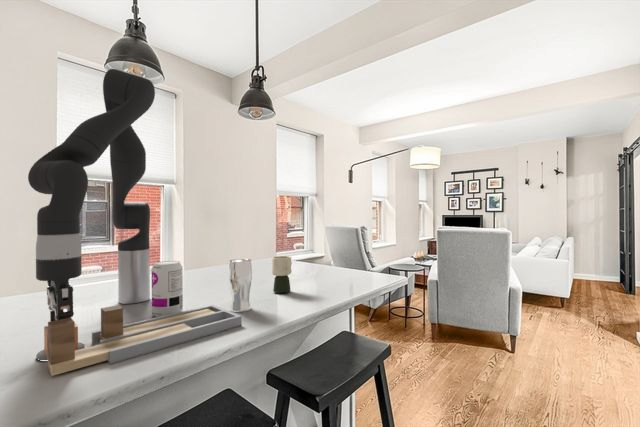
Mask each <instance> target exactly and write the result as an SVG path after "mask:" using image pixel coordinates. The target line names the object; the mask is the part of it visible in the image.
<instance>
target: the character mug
mask: <svg viewBox="0 0 640 427" xmlns="http://www.w3.org/2000/svg"><path fill="white" fill-rule="evenodd" d="M271 261H272V262H271V269H272V270H271V271H272V272H271V274H272V275H273V276H275V277H274V282H273V292H274V293H283V294H285V293H289V292H291V282H290V278H289V275H291V273H292V271H293V270H292V264H293V263H292V262H293V261H292V256H290V255H279V256H278V255H276V256H272V258H271Z"/></svg>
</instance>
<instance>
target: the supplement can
mask: <svg viewBox="0 0 640 427" xmlns="http://www.w3.org/2000/svg"><path fill="white" fill-rule="evenodd" d="M183 280H184V279H183V266H182V263H181V261H179V260H163V261H156V262H154V263H153V266H152V267H151V314H152V315H153V317H154V318H156V317H161V316H165V315H170V314H174V313H179V312H183V311H184V308H183V306H184V303H183V301H184V300H183V299H184V297H183V295H184V294H183V290H184V288H183Z"/></svg>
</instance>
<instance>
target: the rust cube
mask: <svg viewBox="0 0 640 427" xmlns="http://www.w3.org/2000/svg"><path fill="white" fill-rule="evenodd" d="M43 337H44V338H43V345H44V346H43V347H44V348H43V350H44V351H45V353H46V356H47V358H48V325H46V326H44V327H43ZM78 343H79V327H78V325H77V323H75V351H76V350H78Z"/></svg>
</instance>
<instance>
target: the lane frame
mask: <svg viewBox="0 0 640 427" xmlns="http://www.w3.org/2000/svg"><path fill="white" fill-rule="evenodd" d="M204 309H209V310H212V311H214V313H210V314H206V315H202V316H198V317H194V318H190V319H185V320H181V321H177V322H173V323H169V324H165V325H161V326H157V327H153V328H149V329H145V330H140V331H136V332H132V333H128V334H124V335H120V336H116V337H112V338H108V339H104V340H100V334H101V329H100V330H99V329H98V330H94V331H91V344H92V343H93V344H94V345H93V344H92V345H93V346H95V345H99V344H103V343H107V342H111V341H115V340H119V339H123V338H127V337H131V336H135V335H139V334H143V333H147V332H151V331H155V330H159V329H163V328H167V327H171V326H175V325H179V324H183V323H184V324H186V325H187V326H189V327H191V328H190V329H186V330H182V331H179V332H175V333H171V334H167V335H164V336H160V337H156V338H152V339H149V340H145V341H141V342H137V343H134V344H130V345H126V346H123V347H119V348H115V349H111V350H109V360H106V362H107V363H108V364H109V365H114V364H116V363H120V362H124V361H126V360H130V359H134V358H137V357H141V356H143V355H146V354H149V353H154V352H156V351H157V352H158V351H161V350H164V349H167V348H168V349H169V348H170V347H174V346H177V345H180V344H184V343H189V342H191V341H194V340H197V339H202V338H204V337H208V336H211V335H215V334H219V333H221V332H224V331H227V330H232V329H235V328H238V327H242V324H243V323H242V315H241V314H237V313H236V312H232V311H231V310H227V309H225V308H222V307H220V306H217V305H214V304H211V305H206V306H201V307H197V308H192V309H189V310H182V311H181V312H179V313H174V314H170V315H165V316H161V317H152V318H148V319H143V320H139V321H134V322H131V323H126V324H123V328H127V327H131V326H135V325H140V324H144V323H148V322H153V321H157V320H161V319H166V318H170V317H174V316H178V315H183V314H187V313H191V312H196V311H200V310H204Z"/></svg>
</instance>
